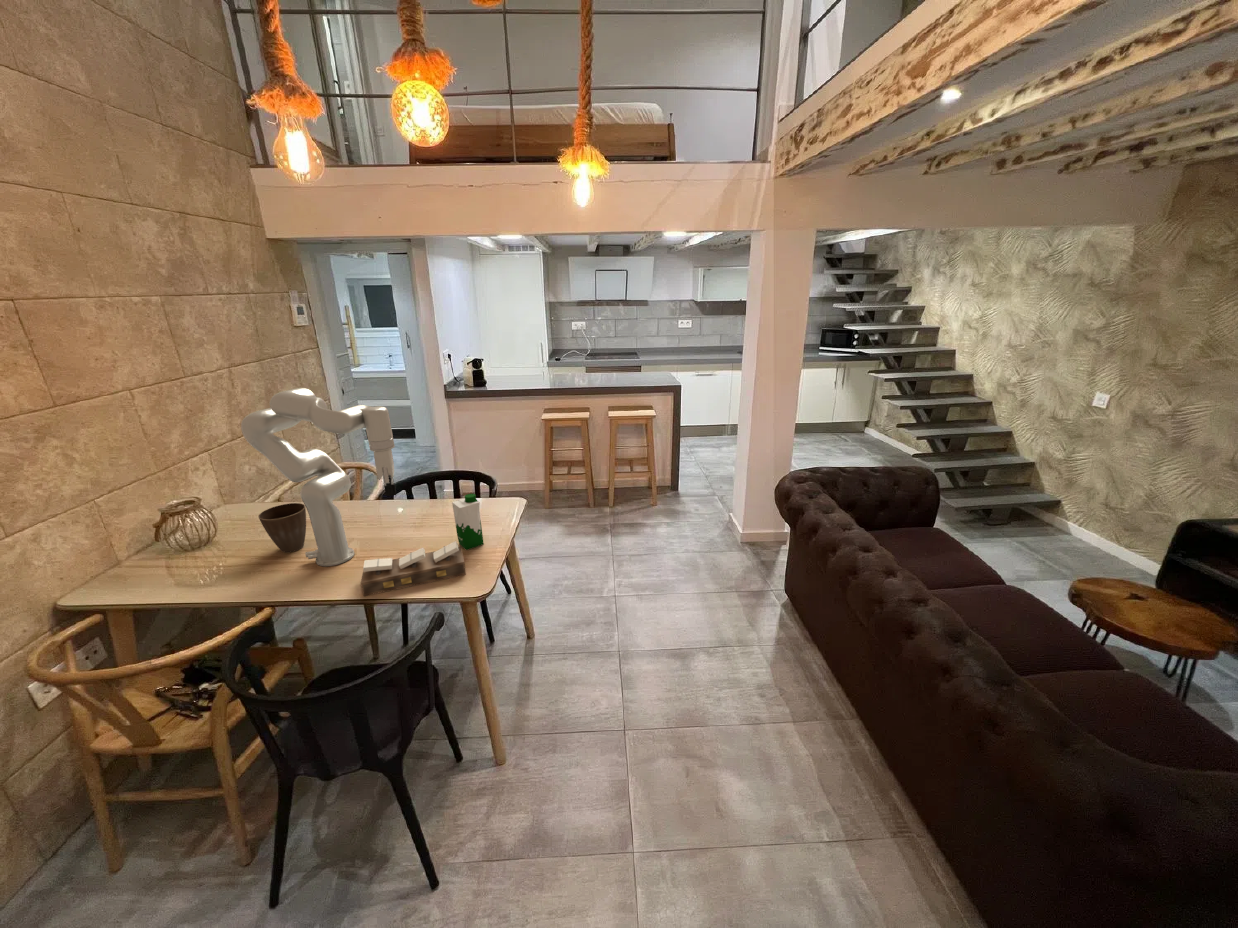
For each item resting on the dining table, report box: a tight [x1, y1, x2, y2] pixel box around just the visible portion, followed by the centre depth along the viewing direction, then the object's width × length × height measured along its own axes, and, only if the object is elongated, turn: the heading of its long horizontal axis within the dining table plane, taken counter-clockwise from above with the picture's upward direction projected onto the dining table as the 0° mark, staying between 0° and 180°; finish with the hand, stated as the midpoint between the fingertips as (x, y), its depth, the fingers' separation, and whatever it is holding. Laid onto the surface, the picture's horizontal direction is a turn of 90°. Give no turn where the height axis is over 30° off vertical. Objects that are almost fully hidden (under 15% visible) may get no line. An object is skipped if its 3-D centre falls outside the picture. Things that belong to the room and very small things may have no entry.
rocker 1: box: [362, 557, 393, 573], centre depth 161 cm, size 8×5×2 cm, turn 112°
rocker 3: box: [433, 540, 459, 562], centre depth 169 cm, size 8×5×2 cm, turn 112°
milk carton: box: [451, 493, 485, 551], centre depth 185 cm, size 9×9×20 cm
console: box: [360, 545, 467, 597], centre depth 166 cm, size 32×12×6 cm, turn 112°
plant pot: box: [257, 502, 307, 554], centre depth 186 cm, size 15×15×16 cm
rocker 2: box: [399, 547, 426, 569], centre depth 165 cm, size 8×5×2 cm, turn 112°
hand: (391, 494), depth 167 cm, fingers closed
